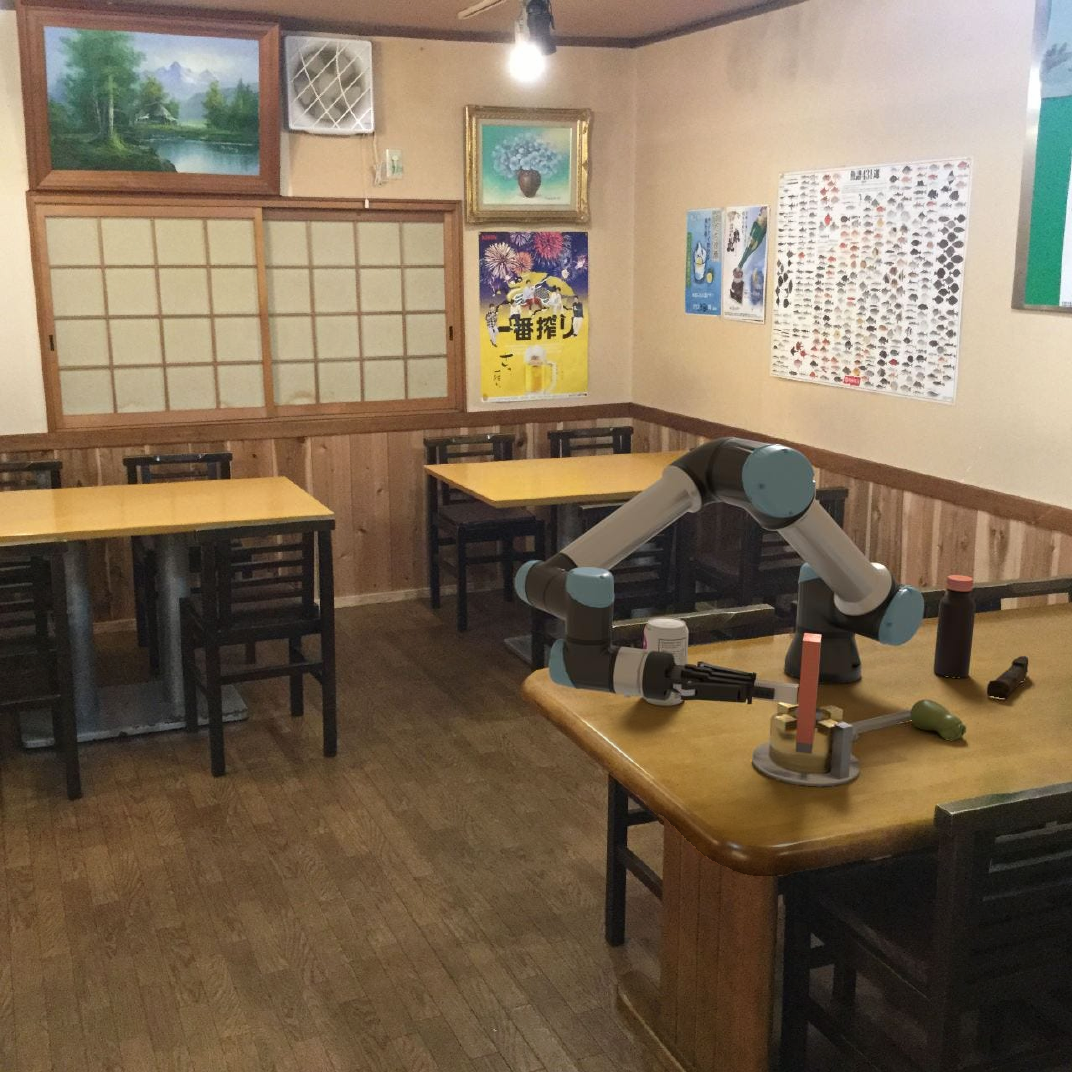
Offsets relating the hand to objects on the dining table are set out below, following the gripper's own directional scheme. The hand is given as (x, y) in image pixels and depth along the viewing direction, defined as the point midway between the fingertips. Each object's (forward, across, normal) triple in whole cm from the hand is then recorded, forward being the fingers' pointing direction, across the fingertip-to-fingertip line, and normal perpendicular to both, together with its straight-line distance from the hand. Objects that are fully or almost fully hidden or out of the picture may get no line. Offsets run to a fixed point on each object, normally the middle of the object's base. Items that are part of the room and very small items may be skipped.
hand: (797, 694), depth 177 cm
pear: (+21, -35, -16) cm, 44 cm away
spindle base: (+1, -12, -16) cm, 20 cm away
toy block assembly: (+1, -8, -15) cm, 17 cm away
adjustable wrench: (+10, -33, -16) cm, 38 cm away
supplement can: (-28, -33, -16) cm, 46 cm away
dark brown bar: (+33, -66, -16) cm, 76 cm away
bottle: (+23, -70, -16) cm, 75 cm away
